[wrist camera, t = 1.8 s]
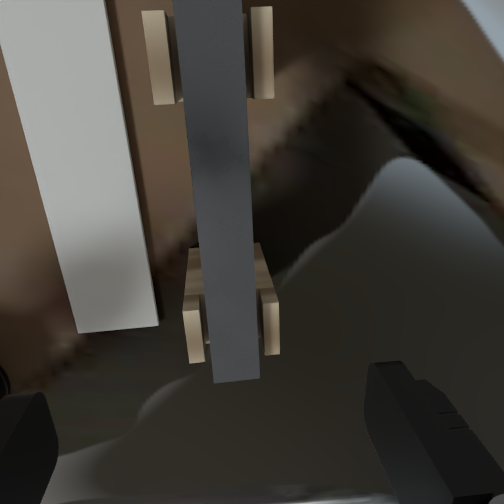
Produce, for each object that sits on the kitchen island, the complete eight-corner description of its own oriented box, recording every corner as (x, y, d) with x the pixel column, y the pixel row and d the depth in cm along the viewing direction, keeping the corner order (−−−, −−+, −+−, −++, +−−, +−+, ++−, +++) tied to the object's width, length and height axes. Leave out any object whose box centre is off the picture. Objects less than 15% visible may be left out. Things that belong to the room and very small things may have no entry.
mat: (-11, -13, 25) (-16, -15, 24) (102, -17, 26) (100, -19, 25) (80, 329, 36) (78, 333, 35) (158, 321, 36) (158, 325, 36)
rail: (175, -8, 19) (170, -22, 17) (235, -10, 20) (240, -24, 17) (213, 353, 28) (214, 383, 26) (254, 349, 29) (259, 378, 26)
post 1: (163, 34, 27) (141, 11, 18) (250, 30, 28) (272, 6, 18) (170, 96, 29) (154, 104, 20) (253, 92, 29) (274, 98, 20)
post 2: (189, 248, 34) (182, 311, 24) (259, 242, 34) (278, 302, 25) (194, 289, 35) (189, 363, 26) (260, 283, 36) (279, 353, 26)
